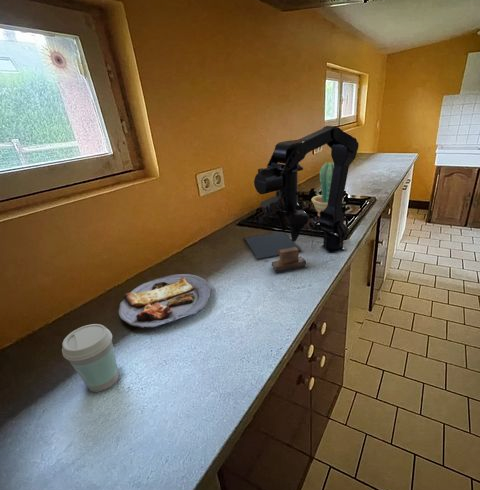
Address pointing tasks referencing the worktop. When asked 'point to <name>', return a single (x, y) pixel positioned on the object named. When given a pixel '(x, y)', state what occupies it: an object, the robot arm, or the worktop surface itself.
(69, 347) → the coffee cup
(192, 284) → the food plate
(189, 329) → the worktop surface
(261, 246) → the mat
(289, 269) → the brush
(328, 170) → the potted cactus
